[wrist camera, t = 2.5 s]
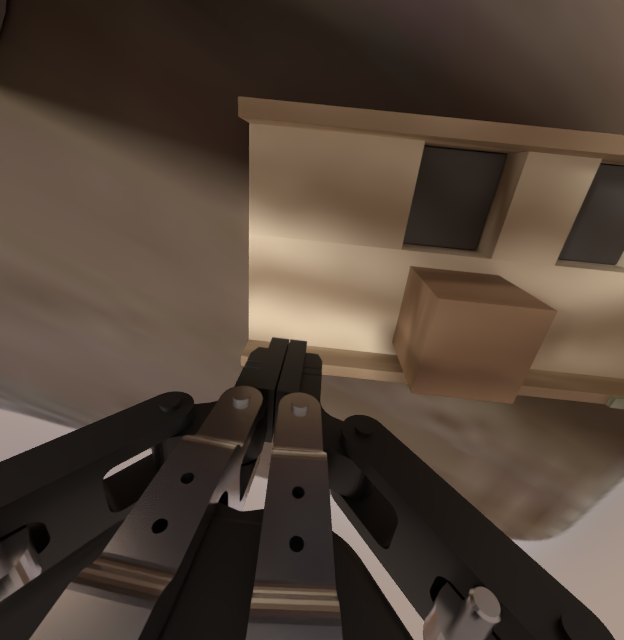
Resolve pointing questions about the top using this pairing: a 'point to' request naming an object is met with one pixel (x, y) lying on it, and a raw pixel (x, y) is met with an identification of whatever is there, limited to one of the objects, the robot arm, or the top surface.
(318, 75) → the top surface
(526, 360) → the walnut block
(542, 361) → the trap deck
